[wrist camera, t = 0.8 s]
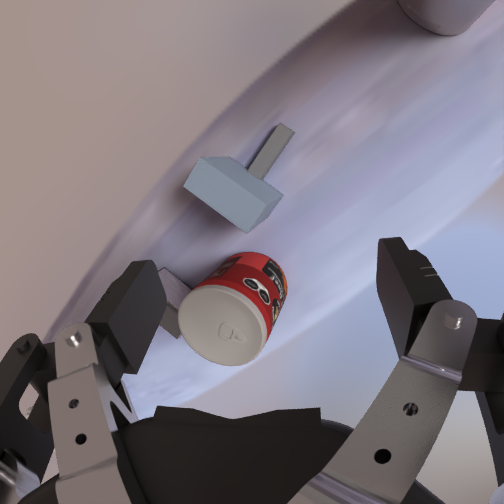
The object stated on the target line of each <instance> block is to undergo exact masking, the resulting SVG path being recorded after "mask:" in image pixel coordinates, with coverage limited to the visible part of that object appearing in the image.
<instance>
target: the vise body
mask: <svg viewBox="0 0 504 504" xmlns="http://www.w3.org/2000/svg"><path fill="white" fill-rule="evenodd" d="M158 274H159V276H160V279H161V282H162V285H163V287H164V290H165V293H166V297H167V307H166V311H165V313H164V315H163V317H162V319H161V321H160V324H159V325H160V326H162V327H163V328H164V329H165V330H166V331H168V332H169V333H170V334H171V335H173V336H174V337H175V338H176V339H178V338H179V337H180V336H181V335H182V333H181V331H180V328H179V324H178V310H179V307H180V305H181V303H182V301H183V300H184V298H185V297H186V296H187V295H188V294H189V293H190V292H191V291H192V289H191V288H190V287H188V286H187V285H186V284H185V283H183V282H182V281H181V280H180V279H178V278H177V277H176V276H175V275H173V274H172V273H171V272H170V271H168V270H167V269H166V268H165V267H164V268H162V269H161V270H159V271H158Z"/></svg>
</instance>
